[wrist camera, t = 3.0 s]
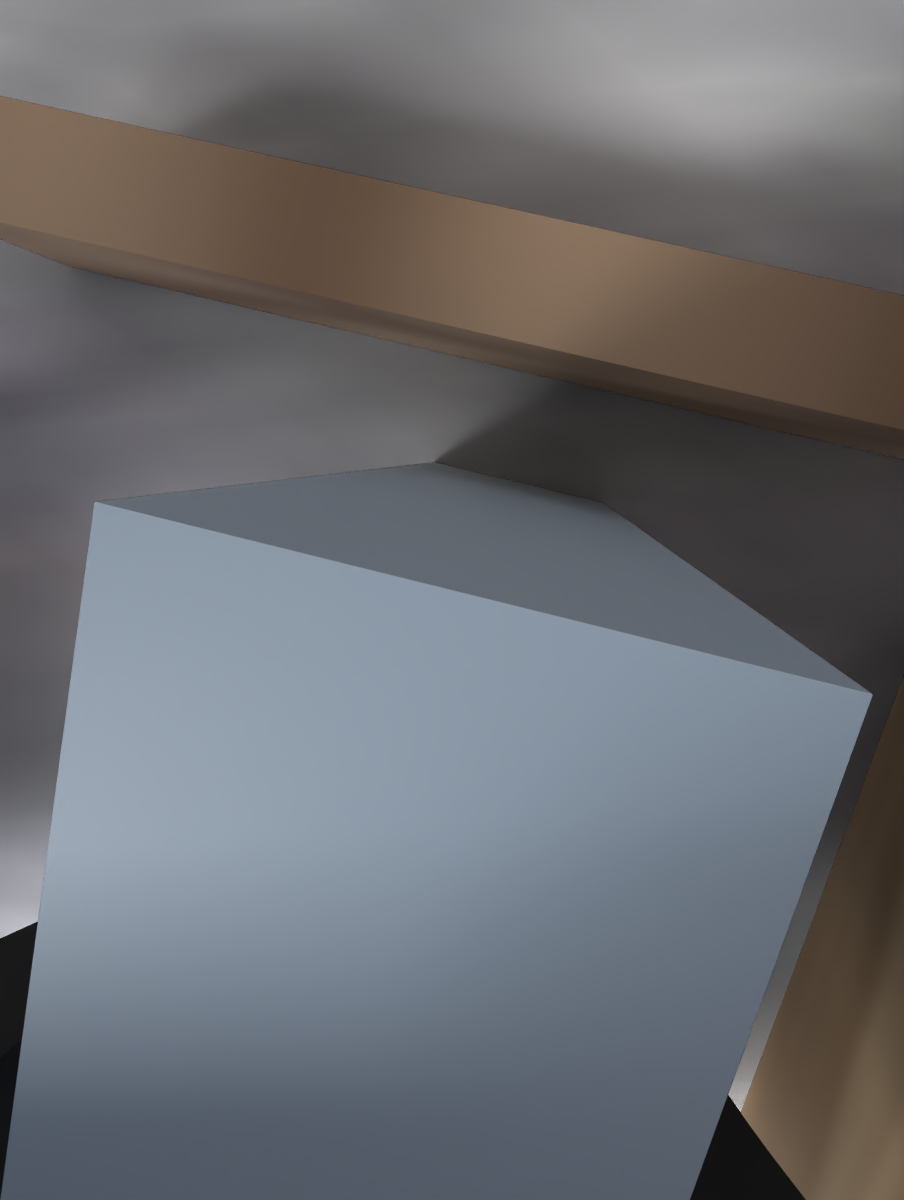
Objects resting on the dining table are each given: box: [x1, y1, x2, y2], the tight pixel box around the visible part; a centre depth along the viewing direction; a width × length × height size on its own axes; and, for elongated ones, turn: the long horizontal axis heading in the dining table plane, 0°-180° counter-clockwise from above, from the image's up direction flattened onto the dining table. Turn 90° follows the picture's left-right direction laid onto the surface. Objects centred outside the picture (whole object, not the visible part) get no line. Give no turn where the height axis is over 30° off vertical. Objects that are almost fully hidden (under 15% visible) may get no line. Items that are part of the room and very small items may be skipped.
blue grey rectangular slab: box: [1, 462, 873, 1200], centre depth 8 cm, size 2×12×9 cm, turn 167°
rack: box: [0, 96, 904, 460], centre depth 11 cm, size 22×17×3 cm
